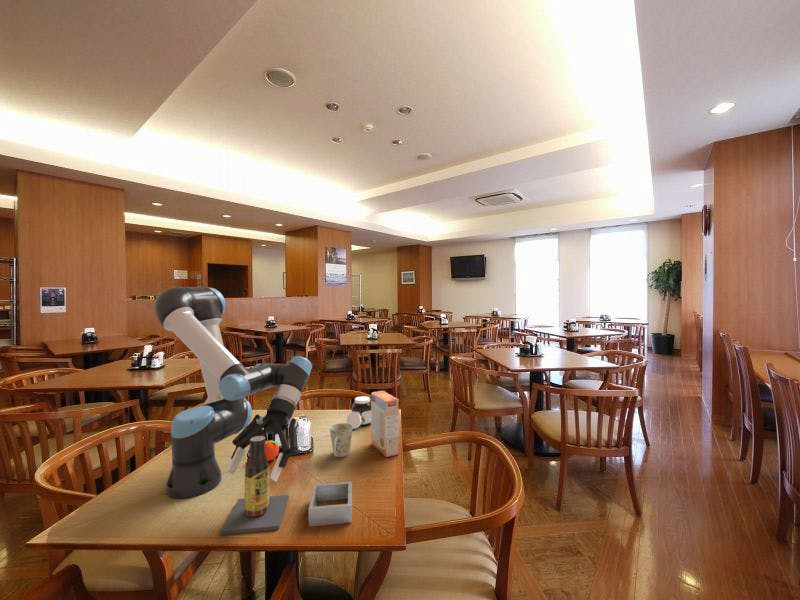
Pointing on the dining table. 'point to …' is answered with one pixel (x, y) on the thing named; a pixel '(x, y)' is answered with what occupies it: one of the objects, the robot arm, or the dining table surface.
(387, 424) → the cracker box
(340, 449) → the mug
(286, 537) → the dining table surface
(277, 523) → the rubber mat
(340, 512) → the grey shallow open box
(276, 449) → the clementine
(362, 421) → the spread jar
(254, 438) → the sauce bottle
